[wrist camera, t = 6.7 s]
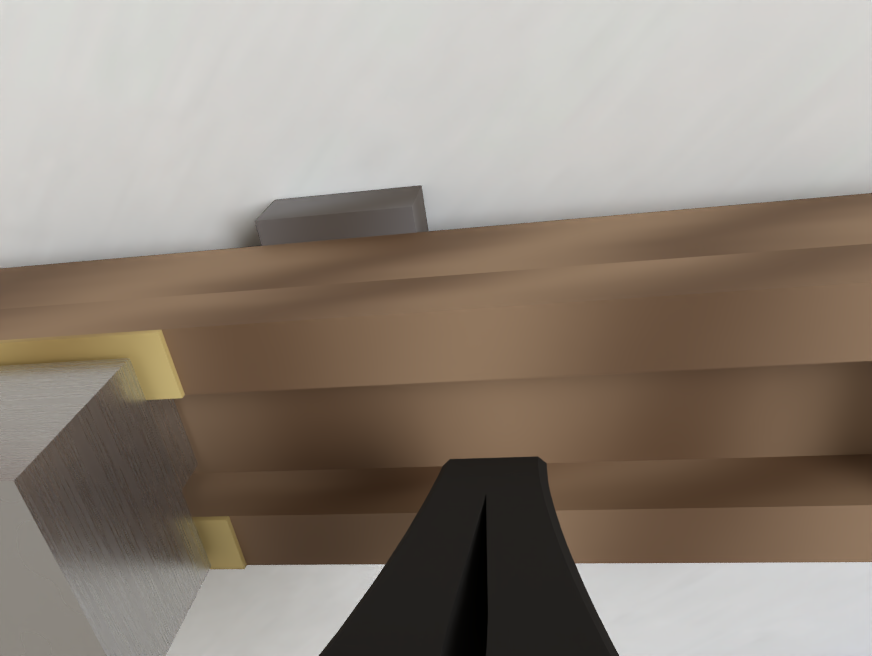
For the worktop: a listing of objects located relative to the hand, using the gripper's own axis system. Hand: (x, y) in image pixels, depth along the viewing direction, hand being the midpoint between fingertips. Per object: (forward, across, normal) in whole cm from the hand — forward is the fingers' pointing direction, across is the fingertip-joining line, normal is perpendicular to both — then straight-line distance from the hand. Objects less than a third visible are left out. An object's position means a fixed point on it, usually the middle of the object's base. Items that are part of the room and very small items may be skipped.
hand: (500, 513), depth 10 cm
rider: (+2, +7, 0) cm, 8 cm away
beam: (+6, +3, 0) cm, 7 cm away
